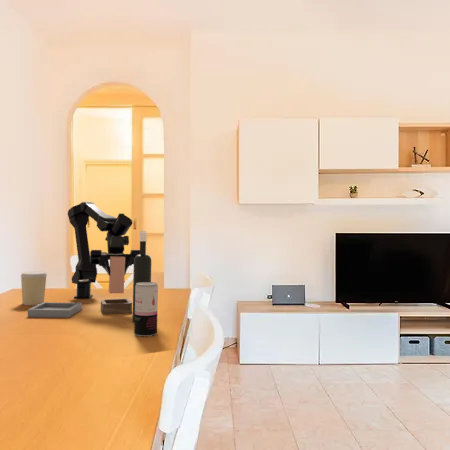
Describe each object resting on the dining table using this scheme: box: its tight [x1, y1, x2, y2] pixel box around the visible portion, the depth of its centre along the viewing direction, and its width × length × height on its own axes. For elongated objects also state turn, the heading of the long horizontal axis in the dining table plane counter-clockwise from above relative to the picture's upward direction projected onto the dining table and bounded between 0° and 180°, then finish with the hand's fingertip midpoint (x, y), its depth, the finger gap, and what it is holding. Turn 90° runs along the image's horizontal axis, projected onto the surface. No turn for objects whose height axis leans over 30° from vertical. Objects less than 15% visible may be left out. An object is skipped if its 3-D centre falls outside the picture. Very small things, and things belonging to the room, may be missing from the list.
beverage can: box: [133, 281, 159, 337], centre depth 134 cm, size 7×7×15 cm
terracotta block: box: [108, 256, 126, 294], centre depth 167 cm, size 5×5×13 cm
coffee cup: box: [20, 271, 48, 306], centre depth 179 cm, size 9×9×12 cm
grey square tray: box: [27, 301, 83, 319], centre depth 161 cm, size 14×14×2 cm
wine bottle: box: [132, 230, 152, 324], centre depth 151 cm, size 6×6×30 cm
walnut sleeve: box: [100, 298, 133, 315], centre depth 167 cm, size 10×10×4 cm
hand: (117, 274), depth 166 cm, fingers closed on terracotta block, 5 cm apart
